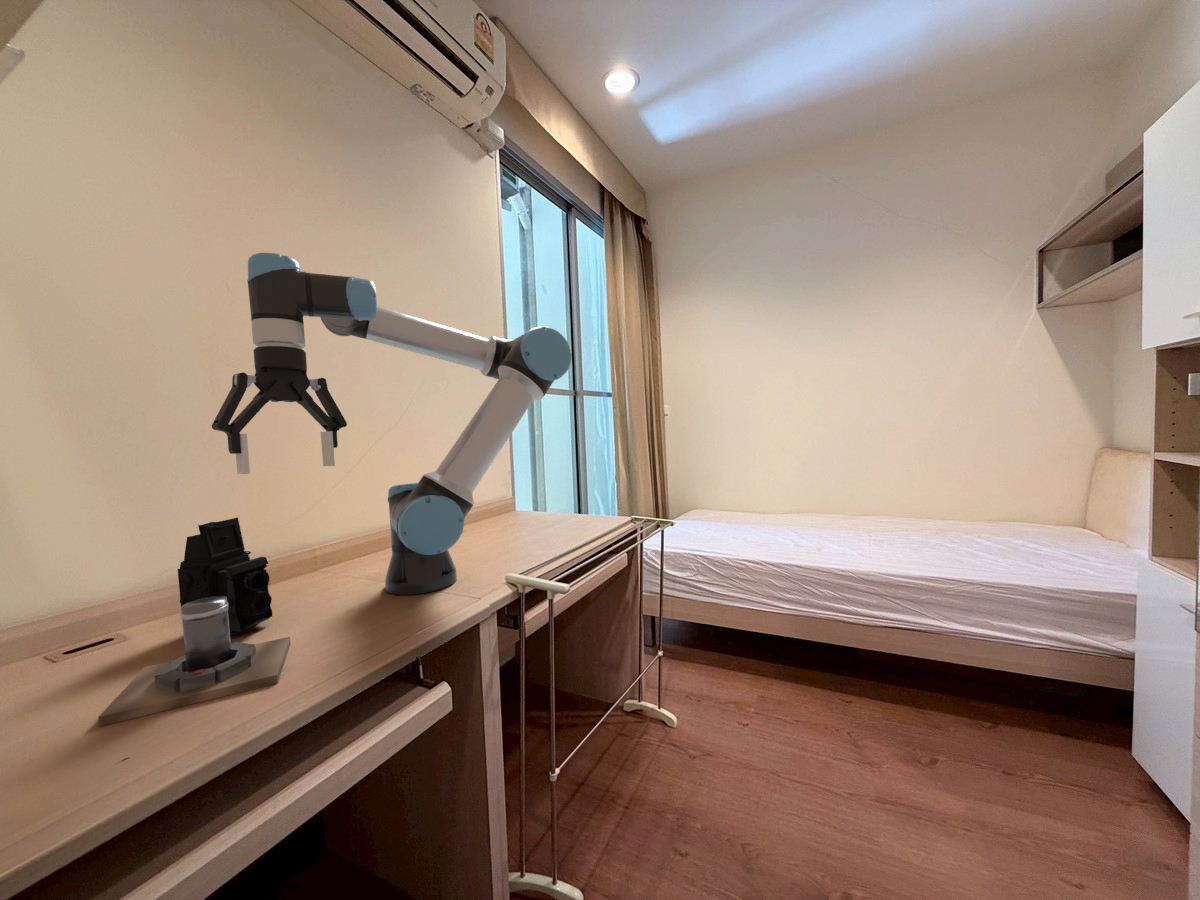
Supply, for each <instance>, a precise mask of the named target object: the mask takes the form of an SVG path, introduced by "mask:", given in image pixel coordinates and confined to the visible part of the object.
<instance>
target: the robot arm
mask: <svg viewBox="0 0 1200 900" xmlns="http://www.w3.org/2000/svg"><path fill="white" fill-rule="evenodd" d="M246 282H247V286H248V287H247V288H248V299H249V308H250V321H251V333H252V343H253V345H255V346H256V347H254V349H253V360H254V361H253V362H254V369H255V373H254V375H251V374H248V373H246V372H238V373H235V374H233V375H232V382H231V383H232V385H231V389H230V390H229V392H228V394H227V395H226V398H225V399H224V402H223V403H222V405H221V407H220V409H219V411H218V412H217V415H216V417H214V420H213V422H212V423H211V429H212V430H214V431H219V432H223V433H225V434H226V435H227V445H228V447H227V448H228V452H229V454H231V455H232V454H233V455H234V454H235V460H236V473H237V474H238V475H239V474H240V475H247V474H251V471H250V470H251V469H250V458H249V446H248V445H249V444H248V434H247V433H242V430H243V429H244V428H246V426H247V425H248V424H249V423H250V421H252V419H253V418H254V417H256V415H257V414H258V413H259V412H260V410H261V409H262V408H264V406H265V405H266V404H267V403H269V402H273V403H277V402H284V403H295V402H296V403H297V404H298V405H300V406H301V407H303V409H305V410H306V412H307V413H308V414H309V415H310V416H312V418H313V419H314V420H315V421H316V422H317V423H318V424H319V426H321V427H322V428H323V429H324V430H325V431H320V439H321V440H320V441H321V453H322V467H334V466H336V465H335V464H336V462H335V452H334V451H335V448H338V445H339V444H338V431H340V429H342V428H346V427H347V426H348V422H347V421H346V419H345V417H344V415H343V413H342V412H341V410H340V409H339V407H338V405H337V403H336V402H335V399H334V398H333V396H332V394H331V393H330V391H329V388H328V383H327V379H326V378H324V377H318V378H314V379H313V378H311V379H309V377H308V375H307V371H308V366H307V365H308V363H307V352H306V351H305V350H304V348H306V336H305V325H304V322H305V321H304V317H312V318H314V317H315V318H320V320H321V322H322V324H323V325H324V326H325V328H326V329H327V330H328V331H329V332H331V334H333V335H336V336H340V337H351V336H353V337H356V338H360V339H363V340H364V339H365V340H368V341H372V342H375V343H379V344H383V345H387V346H391V347H394V348H397V349H402V350H405V351H409V352H413V353H416V354H420V355H423V356H427V357H431V358H435V359H439V360H441V361H446V362H450V363H452V364H456V365H461V366H464V367H468V368H472V369H475V370H479V371H480V373H481V374H482V376H485V377H489V378H493V379H496V380H497V381H496V382H495V384H494V386H493V387H492V389H491V390H490V392H489V393H488V395H486V398H485V399H484V401H482V403H481V405H479V408H478V409H477V410H476V412H475V413H474V415H473V417H471V419H470V421H469V422H468V424H467V425H466V427H465V428H464V429H463V431H462V433H460V435H459V436H458V438H457V440H456V441H455V442H454V444H453V445H452V447H451V448H450V450H449V451H448V453H447V454H446V456H445V457H444V459H443V460H442V461H441V462H440V464H439V466H438V467H437V469H436V470H435V471H432V472H427V473H424V474H423V475H422V477H421V478H420V480H419V481H418V482H411V483H404V484H397V485H396V484H395V485H392V486H390V487H389V489H388V493H387V494H388V495H387V502H388V510H389V511H388V512H389V527H390V528H389V529H390V543H391V556H390V561H389V564H388V568H387V571H386V575H385V580H384V585H385V586H384V587H385V591H386V593H389V594H393V595H397V596H398V595H400V596H401V595H402V596H404V595H405V596H408V595H420V594H425V593H430V592H434V591H438V590H439V591H440V590H441V589H444V588H446V587H448V586H451V585H453V584H454V583H455V582H456V581H457V578H458V577H457V568H456V565H455V563H454V561H453V558H452V557H451V553H450V551H449V549H451V548H452V547H453V546H454V545H455V544H456V543H457V542H458V541H459V540H460V538H461V537H462V534H463V531H464V528H465V519H466V517H467V516H468V514H469V513H470V511H471V509H472V508H473V507H474V506H475V502H474V497H473V496H474V495H473V493H474V491H475V489H476V488H477V487H478V485H479V484H480V482H481V480H483V478H484V476H485V474H486V473H487V472H488V470H489V468H490V467H491V465H492V463H494V460H495V459H496V458H497V456H498V455H499V453H500V451H501V450H502V448H503V447H504V446H505V444H506V442H507V441H508V439H509V438H510V436H511V435H512V433H513V432H514V430H515V428H516V427H517V426H518V424H519V422H520V421H521V420H522V418H523V416H524V415H525V414H526V412H527V410H528V409H529V408H530V406H531V404H532V403H533V402H534V401H539V400H543V399H544V397H545V396H546V394H547V392H548V391H549V389H550V388H551V386H552V385H553V383H554V382H555V381H557V380H559V379H560V378H562V377H563V376H564V375H565V374H566V373H567V372H568V370H569V369H570V366H571V361H572V353H571V349H570V348H571V347H570V345H569V343H568V341H567V339H566V338H565V337H564V335H563V334H562V333H561V332H560V331H558V330H557V329H555V328H553V327H549V326H537V327H532V328H529V329H528V330H527V331H526V332H524V333H523V334H521V335H519V336H518V337H516V338H513V339H508V338H507V339H506V338H502V337H501V338H500V337H497V336H489V337H488V338H486V337H482V336H479V335H475V334H472V333H469V332H466V331H462V330H459V329H456V328H453V327H449V326H446V325H442V324H439V323H436V322H432V321H429V320H426V319H422V318H419V317H416V316H412V315H409V314H406V313H403V312H400V311H396V310H393V309H389V308H386V307H383V306H379V305H377V303H378V302H377V300H378V299H377V289H376V286H375V283H374V282H373V281H372V280H371V279H365V278H360V277H356V276H345V275H344V276H342V275H332V274H325V273H324V274H322V273H313V272H312V273H311V272H306V271H302V269H301V268H300V264H299V262H298V261H297V260H296V259H294V258H293V257H290V256H287V255H282V254H280V253H275V252H258V253H254V254H251V256H249V258H248V260H247V281H246ZM252 384H254V386H256V388H257V389H258V390H259V391H258V392H257V393H256V394H255V395H254V397H252V400H251V401H249V403H248V405H246V406H245V407H244V409H242V411H240V413H238V415H237V416H236V417H235V418H234V419H233V420H232V418H233V417H234V414H235V413H236V410H237V408H238V406H239V405H240V403H241V400H242V399H243V397H244V395H245V393H246V392H247V389H248V388H250V387H251V386H252ZM309 387H310V388H311V390H312V391H314V393H315V395H316V397H317V398H318V400H319V402H320V404H321V406H322V407H323V409H322V408H321V407H320V406H319V405H318V403H317V402H316V401H314V398H313V396H311V395H310V393H308V391H307V390H308V389H309ZM231 420H232V422H231Z"/></svg>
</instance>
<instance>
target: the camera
mask: <svg viewBox="0 0 1200 900" xmlns="http://www.w3.org/2000/svg"><path fill="white" fill-rule="evenodd" d="M197 526H198V527H197V528H198V530H199V534H195V535H190V536H186V542H185V547H184V548H185V549H184V550H185V551H184V556H183V557H184V558H183V559H184V560H182V561H181V562H180V565H179V568H177V576H178V577H177V578H178V586H179V587H178V589H179V603H180V607H181V606H183V605H184V604H186V603H189V602H191V601H194V600H198V599H202V598H207V597H213V596H226V597H227V602H228V606H229V609H228V616H229V628H230V637H231V636H233V635H235V634H237V633H239V632H242V631H244V630H245V631H246V630H248V629H250V628H252V627H254V626H256V625H258V624H259V625H260V624H261V623H263V622H265V621H268V620H269V619H271V618H273V609H272V605H271V604H272V599H273V598H272V596H271V594H270V593H269V592H270V591H269V583H270V575H269V572H268V571H267V569H266V568H267V567H268V564H269V562H268V559H267V557H266V556H259V557H257V558H253V559H251V558H250V554H252V552H251V550H248V551H247V550H245V544H244V539H243V535H242V531H241V530H242V529H241V525H240V521H239V517H234V518H230V519H224V520H219V521H211V522H208V523H203V524H198V525H197ZM182 625H183V623H182Z"/></svg>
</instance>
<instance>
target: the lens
mask: <svg viewBox="0 0 1200 900" xmlns="http://www.w3.org/2000/svg"><path fill="white" fill-rule="evenodd" d="M228 609H229V606H228V602H227V597H226V596H213V597H207V598H202V599H198V600H194V601H191V602H189V603H186V604H184V605H183V606H181V605H180V610H181V611H180V619H181V622H182V623H183V624H182V633H183V643H184V654H185V657H186V668H187V672H188V673H189V672H194V671H196V670H201V669H208V668H212V667H215V666H217V665H219V664H222V663H224V662H226V661H228V660H230V659H232V652H231V643H232V641H231V636H230V628H229V616H228Z"/></svg>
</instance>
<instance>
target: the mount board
mask: <svg viewBox="0 0 1200 900" xmlns="http://www.w3.org/2000/svg"><path fill="white" fill-rule="evenodd" d="M290 647H291V637H290V636H287V637H282V638H279V639H273V640H268V641H263V642H258V643H246V642H241V641H239V642H238V641H237V642H234V643H233V642H232V641H231V652H232V659H230V660H228V661H226V662H224V663H222V664H219V665H217V666H215V667H212V668H208V669H201V670H196V671H194V672H189V673H188V672H187V668H186V657H185V655H182V656H180V657H178V658H176V659H173V660H170V661H167V662H163V663H157V664H153V665H148V666H144V668H143V669H141V671H140V672H139V673H137V675H136V676H135V677H134V678H133V679H132V680H131V681H130V683H129V684H127V686H126V687H125V688H124V689H123V690H122V691H121V692H120V693H119V695H117V696H116V697H115V698H114V699H113V701H112V702H111V703H110V704H109V705H108V706H107V707H106V708H105V709H104V710H103V712H102V713H101V714H100V715H99V716H98V719H97V720H98V726H99V727H104V726H107V725H112V724H116V723H120V722H123V721H125V722H126V721H129V720H133V719H136V718H139V717H140V718H141V717H144V716H148V715H152V714H157V713H161V712H164V711H165V712H166V711H168V710H172V709H178V708H181V707H186V706H189V705H194V704H198V703H201V702H206V701H209V700H215V699H218V698H222V697H227V696H230V695H234V694H238V693H242V692H247V691H251V690H256V689H258V688H259V689H260V688H263V687H267V686H272V685H275V684H278V683H279V681H280V677H281V674H282V672H283V668H284V665H285V661H286V659H287V656H288V654H289V653H288V652H289V650H290Z"/></svg>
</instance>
